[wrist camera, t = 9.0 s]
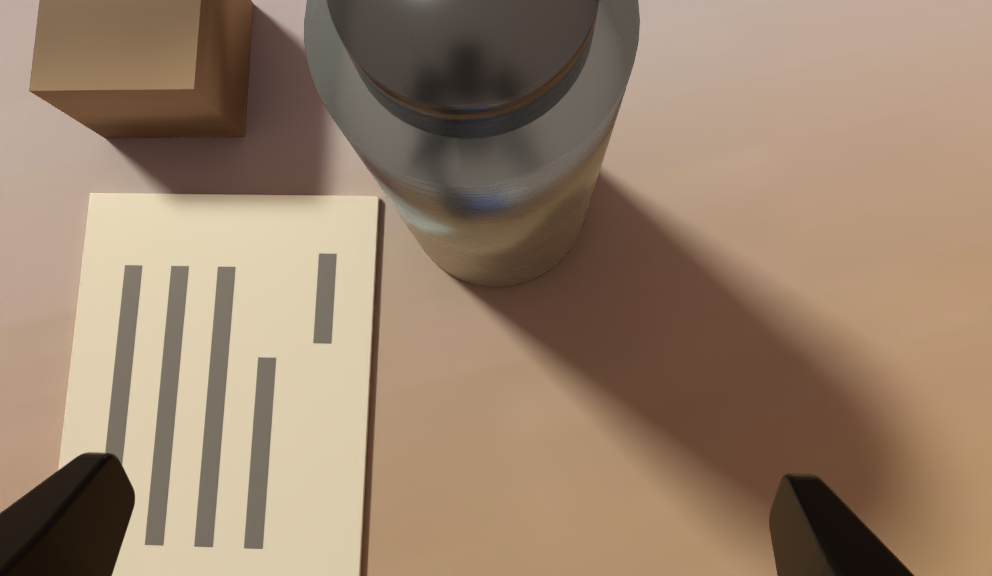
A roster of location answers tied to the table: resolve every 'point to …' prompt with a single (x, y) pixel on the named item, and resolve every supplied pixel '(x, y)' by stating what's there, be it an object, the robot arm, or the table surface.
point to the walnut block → (146, 65)
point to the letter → (229, 377)
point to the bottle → (478, 117)
